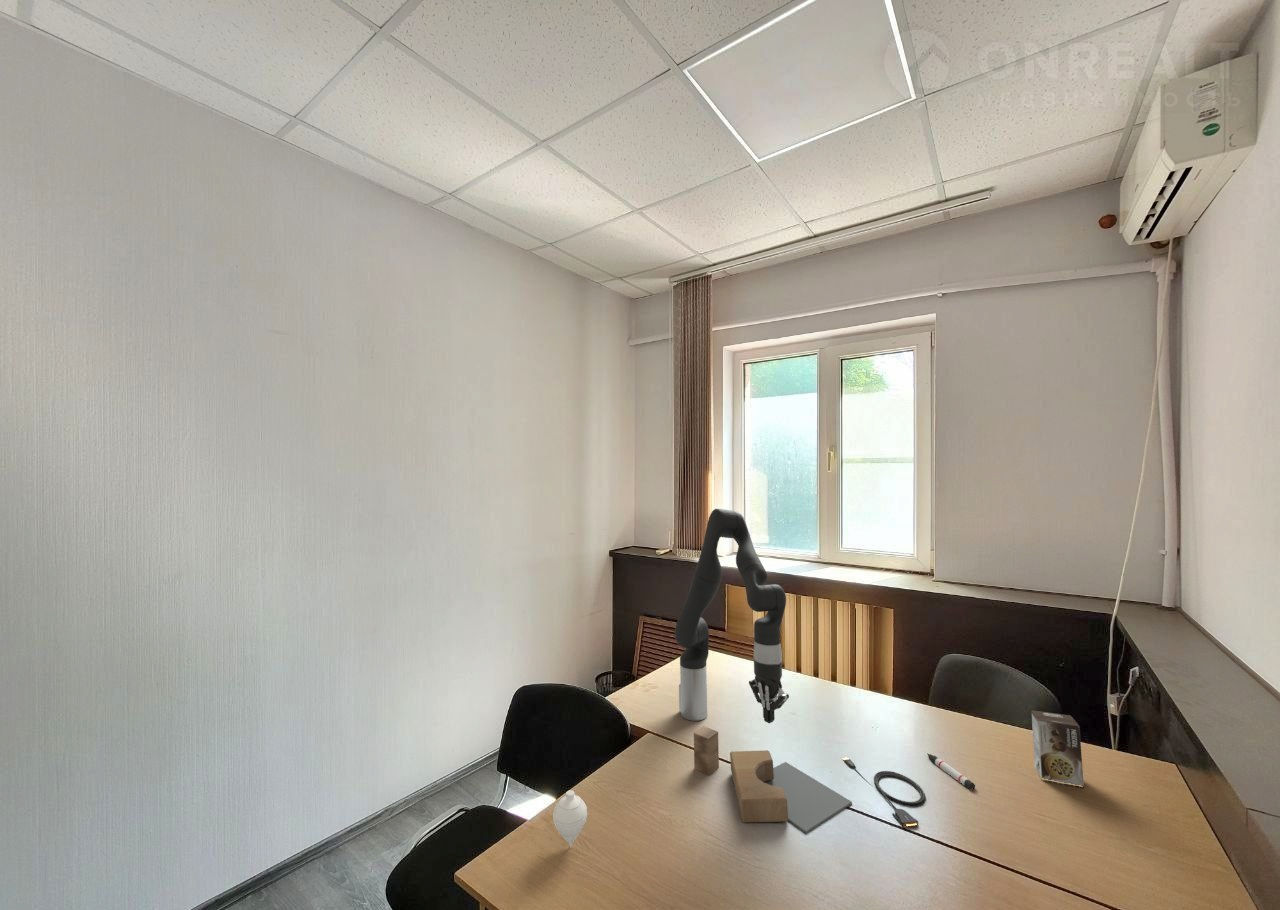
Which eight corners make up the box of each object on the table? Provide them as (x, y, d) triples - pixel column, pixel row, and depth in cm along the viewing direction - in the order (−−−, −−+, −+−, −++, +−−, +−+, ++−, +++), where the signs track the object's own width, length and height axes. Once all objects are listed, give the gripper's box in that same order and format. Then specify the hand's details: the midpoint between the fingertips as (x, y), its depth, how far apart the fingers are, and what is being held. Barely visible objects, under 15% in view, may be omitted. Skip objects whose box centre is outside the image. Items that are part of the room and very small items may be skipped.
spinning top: (558, 864, 105) (557, 807, 106) (550, 840, 112) (549, 787, 113) (592, 853, 108) (591, 797, 109) (582, 830, 115) (581, 778, 116)
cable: (886, 758, 143) (885, 752, 144) (957, 826, 116) (957, 819, 116) (842, 761, 142) (842, 756, 142) (904, 831, 114) (903, 824, 114)
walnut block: (694, 768, 139) (693, 732, 139) (704, 760, 143) (703, 725, 143) (709, 775, 136) (708, 738, 136) (718, 767, 139) (718, 731, 140)
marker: (975, 790, 128) (975, 782, 128) (969, 791, 128) (968, 783, 128) (930, 757, 143) (929, 750, 143) (924, 758, 143) (924, 751, 143)
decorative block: (769, 749, 136) (787, 799, 116) (770, 770, 136) (788, 823, 116) (729, 750, 137) (741, 799, 117) (730, 770, 137) (742, 823, 117)
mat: (740, 786, 131) (740, 784, 131) (785, 763, 141) (785, 761, 141) (805, 833, 113) (805, 831, 113) (851, 803, 123) (851, 801, 123)
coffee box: (1075, 775, 133) (1071, 715, 134) (1084, 789, 127) (1081, 726, 128) (1033, 767, 137) (1030, 709, 138) (1040, 780, 131) (1037, 719, 132)
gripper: (740, 653, 138) (741, 715, 138) (777, 668, 127) (778, 736, 127) (759, 648, 142) (760, 708, 142) (796, 662, 131) (797, 728, 131)
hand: (768, 721), depth 134 cm, fingers closed
